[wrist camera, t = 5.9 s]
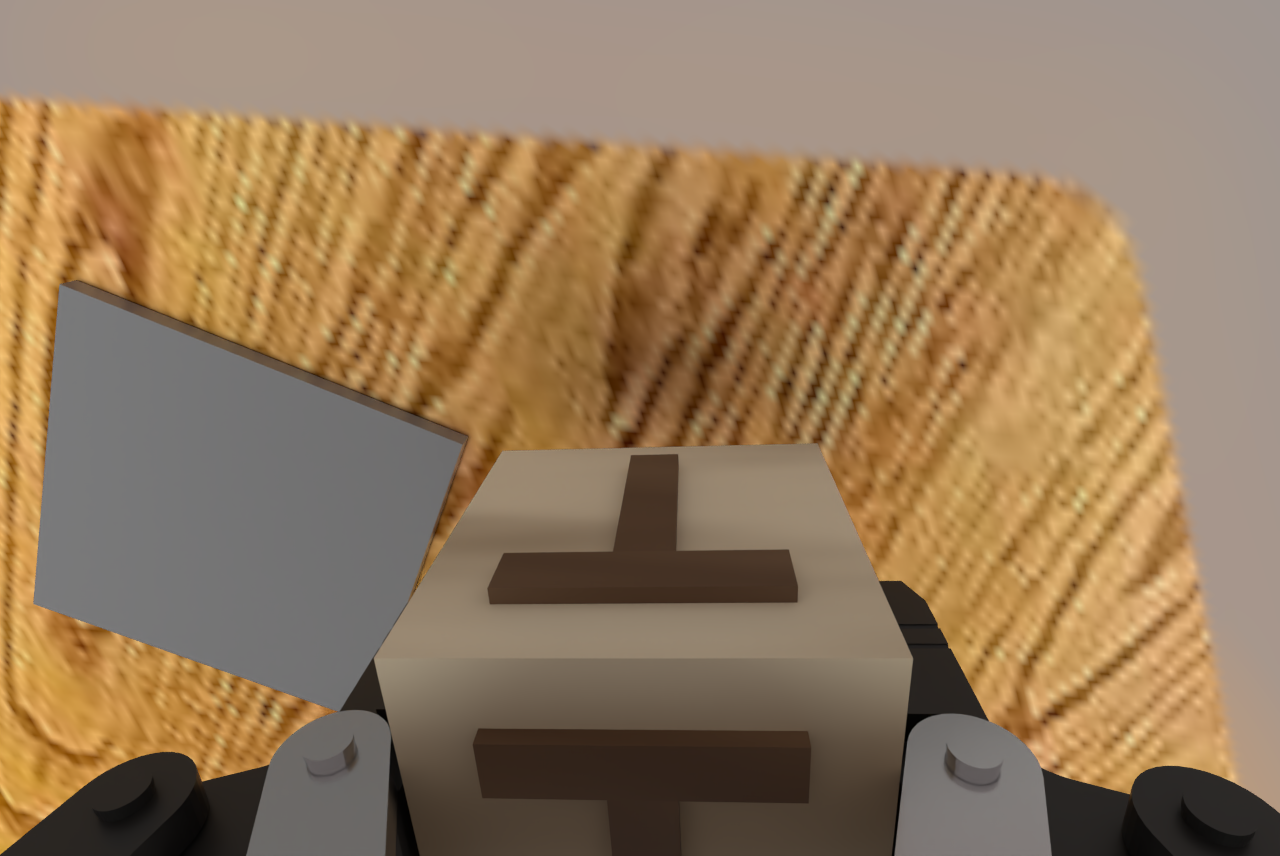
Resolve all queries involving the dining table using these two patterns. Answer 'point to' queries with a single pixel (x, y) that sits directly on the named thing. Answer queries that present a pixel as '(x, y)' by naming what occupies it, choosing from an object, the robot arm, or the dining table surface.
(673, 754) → the letter block
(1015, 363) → the dining table surface
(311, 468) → the slate coaster
